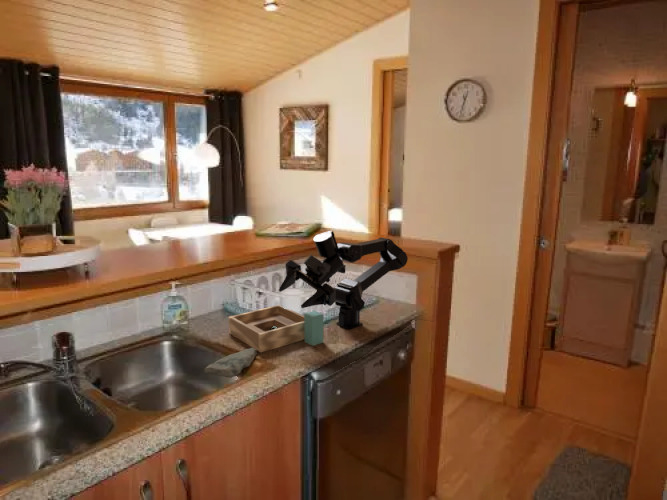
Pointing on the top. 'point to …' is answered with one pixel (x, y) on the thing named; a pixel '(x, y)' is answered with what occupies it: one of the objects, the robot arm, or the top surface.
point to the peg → (313, 327)
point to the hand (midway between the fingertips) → (290, 298)
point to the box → (268, 327)
